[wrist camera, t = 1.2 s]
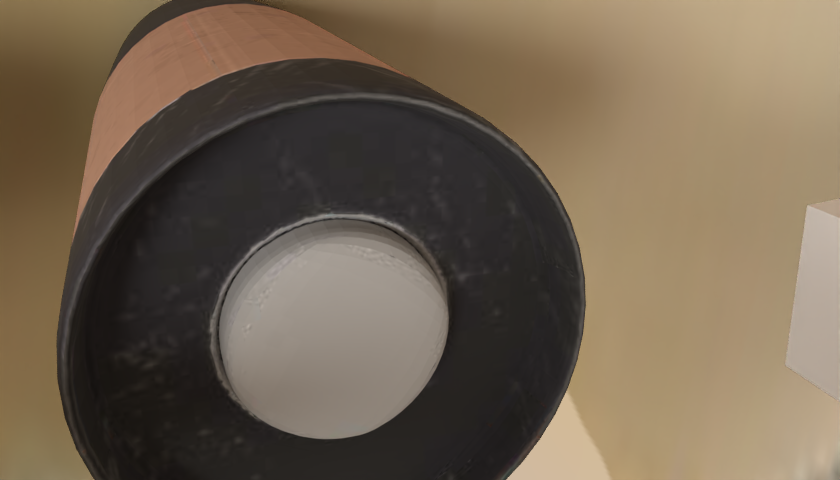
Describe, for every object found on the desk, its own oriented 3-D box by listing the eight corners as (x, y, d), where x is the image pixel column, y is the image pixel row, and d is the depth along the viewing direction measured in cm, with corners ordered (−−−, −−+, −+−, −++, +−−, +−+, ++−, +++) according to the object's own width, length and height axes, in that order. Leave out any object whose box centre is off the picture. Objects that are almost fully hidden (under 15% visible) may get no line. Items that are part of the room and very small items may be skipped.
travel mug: (213, -65, 26) (368, -64, 9) (360, 95, 30) (680, 324, 12) (54, 92, 26) (-108, 406, 9) (220, 233, 30) (339, 654, 12)
